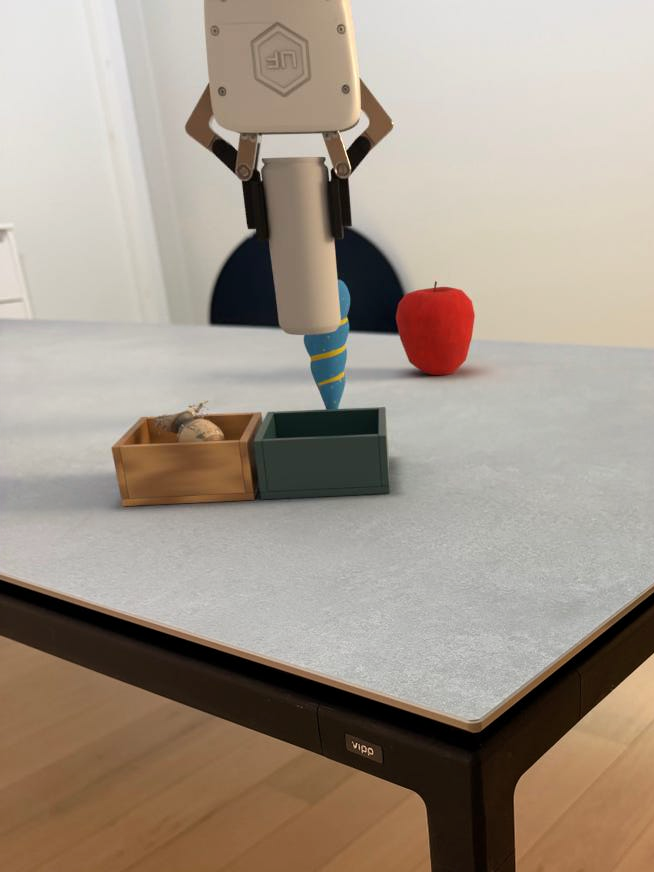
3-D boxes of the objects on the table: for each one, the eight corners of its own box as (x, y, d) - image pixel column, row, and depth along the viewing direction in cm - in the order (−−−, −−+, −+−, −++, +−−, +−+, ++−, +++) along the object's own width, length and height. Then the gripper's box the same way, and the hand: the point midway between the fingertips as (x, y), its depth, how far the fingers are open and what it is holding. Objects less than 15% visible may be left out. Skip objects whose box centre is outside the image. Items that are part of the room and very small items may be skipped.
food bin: (122, 506, 73) (110, 447, 71) (150, 470, 82) (141, 416, 80) (254, 500, 74) (246, 441, 72) (267, 465, 83) (261, 412, 81)
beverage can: (301, 337, 71) (282, 157, 65) (267, 331, 74) (247, 159, 69) (354, 330, 74) (340, 156, 68) (319, 324, 77) (303, 158, 72)
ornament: (321, 410, 102) (307, 259, 95) (366, 412, 100) (355, 259, 94) (301, 421, 97) (284, 264, 90) (348, 423, 96) (334, 264, 89)
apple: (429, 363, 125) (425, 275, 121) (491, 369, 121) (489, 278, 116) (383, 376, 118) (377, 283, 113) (447, 383, 113) (443, 286, 108)
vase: (227, 462, 81) (261, 471, 76) (168, 483, 78) (200, 493, 73) (209, 399, 78) (243, 405, 74) (147, 418, 75) (179, 425, 71)
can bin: (260, 499, 74) (253, 441, 72) (273, 464, 83) (267, 411, 81) (389, 493, 75) (386, 435, 72) (388, 459, 83) (385, 406, 81)
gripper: (127, -72, 59) (175, 246, 67) (402, -73, 60) (417, 239, 68) (153, -47, 65) (194, 239, 74) (400, -48, 67) (414, 233, 75)
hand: (301, 236), depth 71 cm, fingers closed on beverage can, 4 cm apart
